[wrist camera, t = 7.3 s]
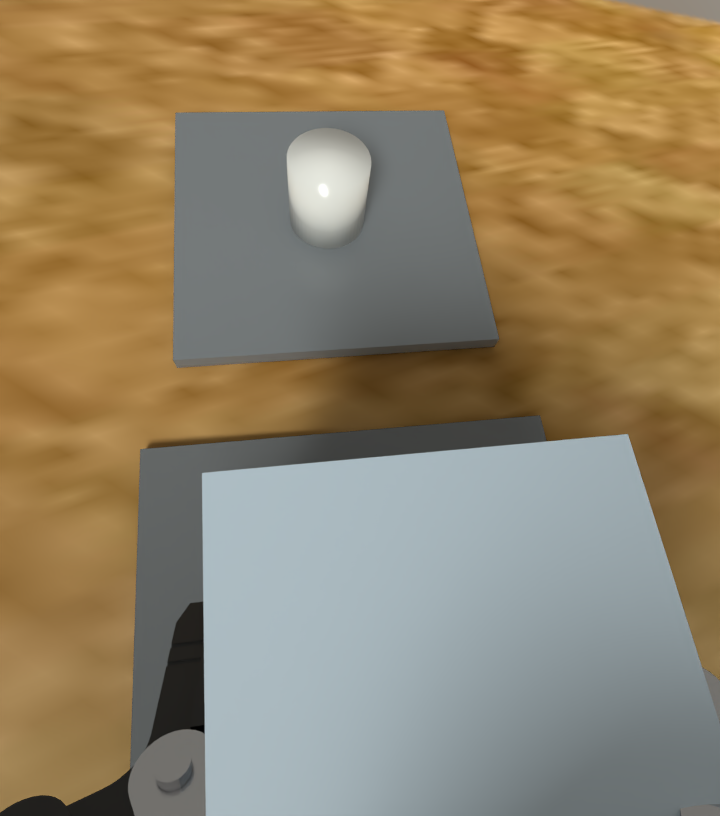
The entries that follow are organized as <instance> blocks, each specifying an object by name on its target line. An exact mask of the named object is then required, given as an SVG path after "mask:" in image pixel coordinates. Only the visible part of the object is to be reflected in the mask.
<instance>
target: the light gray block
mask: <svg viewBox="0 0 720 816" xmlns="http://www.w3.org/2000/svg"><path fill="white" fill-rule="evenodd" d="M202 524H203V614H204V703H205V793H206V816H680V808H686V807H691V806H698V805H706V804H720V722H719V719H718V716H717V713H716V710H715V707H714V703H713V700H712V697H711V694H710V691H709V688H708V685H707V681H706V678H705V675H704V672H703V669H702V666H701V663H700V659H699V656H698V653H697V650H696V647H695V644H694V641H693V637H692V634H691V631H690V628H689V625H688V622H687V619H686V615H685V612H684V609H683V606H682V603H681V600H680V597H679V593H678V590H677V587H676V584H675V581H674V578H673V575H672V571H671V568H670V565H669V562H668V559H667V556H666V553H665V549H664V546H663V543H662V540H661V537H660V534H659V531H658V527H657V524H656V521H655V518H654V515H653V512H652V509H651V505H650V502H649V499H648V496H647V493H646V490H645V487H644V483H643V480H642V477H641V474H640V471H639V468H638V465H637V461H636V458H635V455H634V452H633V449H632V446H631V442H630V439H629V436H628V434H624V435H613V436H602V437H591V438H580V439H569V440H558V441H547V442H536V443H525V444H514V445H503V446H492V447H481V448H470V449H459V450H448V451H437V452H426V453H415V454H404V455H393V456H382V457H371V458H361V459H350V460H339V461H328V462H317V463H306V464H295V465H284V466H273V467H262V468H251V469H240V470H229V471H218V472H207V473H202Z"/></svg>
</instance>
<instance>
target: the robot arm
mask: <svg viewBox="0 0 720 816" xmlns="http://www.w3.org/2000/svg"><path fill="white" fill-rule="evenodd" d="M702 669H703V672H704V675H705V678H706V681H707V685H708V688H709V691H710V694H711V697H712V700H713V703H714V707H715V710H716V713H717V716H718V719H719V722H720V681H719V680H718V679H717V678H716V677H715V676H714V675H713V674H711V673H710V672H709V671H707V670H706V669H704V668H702ZM0 816H206V793H205V703H204V614H203V602H195V603H190V604H189V605H188V607H187V608H186V609H185V611H184V612H183V614H182V615H181V616H180V618H179V619H178V621H177V622H176V625H175V630H174V634H173V639H172V643H171V648H170V652H169V656H168V661H167V666H166V670H165V674H164V679H163V683H162V687H161V692H160V696H159V701H158V705H157V710H156V714H155V719H154V723H153V728H152V732H151V736H150V739H149V742H148V744H147V746H146V749H145V750H144V752H143V753H142V754H141V755H140V757H139V758H138V759H137V761H136V763H135V765H134V766H133V767H132V768H131V769H130V770H129V771H128V772H127V773H126V774H124V775H123V776H122V777H121V778H120V779H118V780H117V781H115V782H114V783H112V784H111V785H109V786H107V787H105V788H104V789H102V790H100V791H97V792H95V793H93V794H91V795H89V796H87V797H85V798H83V799H81V800H79V801H76V802H74V803H72V804H70V805H68V806H66V805H65V804H64V803H63V802H62V801H61V800H59V799H57V798H55V797H52V796H43V795H41V796H34V797H30V798H27V799H24V800H21V801H19V802H17V803H15V804H13V805H11V806H10V807H8V808H6V809H5V810H3V811H2V812H1V813H0ZM680 816H720V804H706V805H698V806H691V807H686V808H680Z"/></svg>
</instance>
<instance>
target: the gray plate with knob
mask: <svg viewBox="0 0 720 816" xmlns="http://www.w3.org/2000/svg"><path fill="white" fill-rule="evenodd" d="M498 340H499V336H498V332H497V328H496V324H495V320H494V315H493V311H492V307H491V303H490V299H489V295H488V291H487V287H486V282H485V278H484V274H483V270H482V266H481V262H480V258H479V253H478V249H477V245H476V241H475V237H474V233H473V229H472V225H471V220H470V216H469V212H468V208H467V204H466V200H465V196H464V192H463V187H462V183H461V179H460V175H459V171H458V167H457V163H456V159H455V154H454V150H453V146H452V142H451V138H450V134H449V130H448V126H447V121H446V117H445V113H444V111H334V112H210V113H176V120H175V226H174V332H173V361H174V363H175V364H176V366H177V368H180V367H195V366H210V365H225V364H240V363H255V362H270V361H285V360H300V359H315V358H330V357H345V356H360V355H375V354H390V353H405V352H420V351H435V350H450V349H465V348H480V347H494V346H495V345H496V343H497V342H498Z"/></svg>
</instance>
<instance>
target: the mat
mask: <svg viewBox="0 0 720 816" xmlns="http://www.w3.org/2000/svg"><path fill="white" fill-rule="evenodd" d="M536 442H547V441H546V437H545V433H544V429H543V425H542V421H541V417H540V416H528V417H516V418H504V419H492V420H481V421H469V422H457V423H445V424H433V425H422V426H410V427H398V428H386V429H374V430H362V431H351V432H339V433H327V434H315V435H303V436H292V437H280V438H268V439H256V440H244V441H232V442H221V443H209V444H197V445H185V446H173V447H162V448H150V449H140V480H139V511H138V543H137V574H136V605H135V636H134V667H133V698H132V729H131V760H130V769H131V768H132V767H133V766H134V765H135V763H136V761H137V759H138V758H139V757H140V755H141V754H142V753H143V752H144V750H145V749H146V746H147V744H148V742H149V739H150V736H151V732H152V728H153V723H154V719H155V714H156V710H157V705H158V701H159V696H160V692H161V687H162V683H163V679H164V674H165V670H166V666H167V661H168V656H169V652H170V648H171V643H172V639H173V634H174V630H175V625H176V622H177V621H178V619H179V618H180V616H181V615H182V614H183V612H184V611H185V609H186V608H187V607H188V605H189V604H190V603H195V602H203V524H202V473H207V472H218V471H229V470H240V469H251V468H262V467H273V466H284V465H295V464H306V463H317V462H328V461H339V460H350V459H361V458H371V457H382V456H393V455H404V454H415V453H426V452H437V451H448V450H459V449H470V448H481V447H492V446H503V445H514V444H525V443H536Z"/></svg>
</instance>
